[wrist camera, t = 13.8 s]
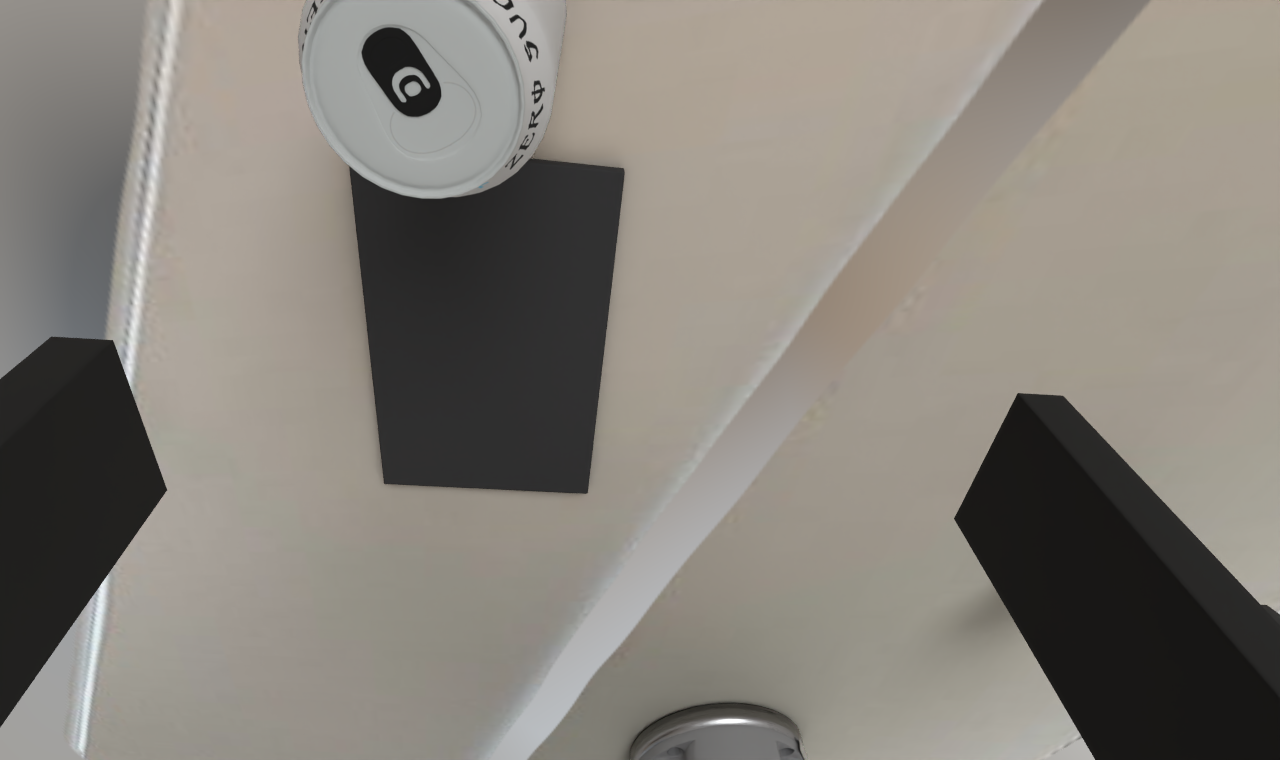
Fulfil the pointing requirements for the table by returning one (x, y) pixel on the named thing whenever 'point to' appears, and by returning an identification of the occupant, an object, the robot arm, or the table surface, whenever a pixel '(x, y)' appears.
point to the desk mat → (490, 326)
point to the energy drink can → (432, 87)
